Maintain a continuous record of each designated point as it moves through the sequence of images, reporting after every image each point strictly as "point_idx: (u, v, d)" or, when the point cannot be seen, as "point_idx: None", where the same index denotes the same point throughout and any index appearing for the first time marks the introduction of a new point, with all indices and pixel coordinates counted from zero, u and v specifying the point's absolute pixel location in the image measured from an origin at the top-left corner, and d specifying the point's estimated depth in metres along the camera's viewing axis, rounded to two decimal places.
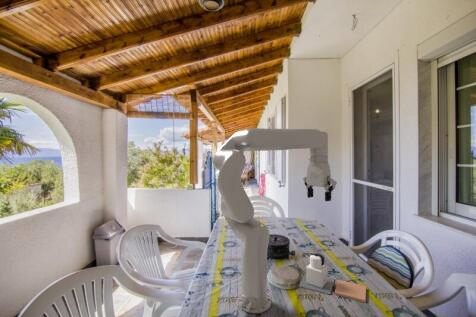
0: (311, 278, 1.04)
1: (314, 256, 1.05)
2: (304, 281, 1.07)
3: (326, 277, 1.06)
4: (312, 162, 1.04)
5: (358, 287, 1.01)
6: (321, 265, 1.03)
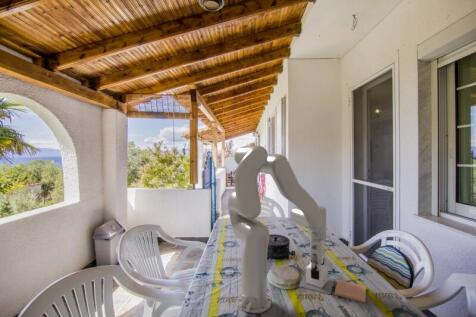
0: (311, 278, 1.04)
1: None
2: (304, 281, 1.07)
3: (326, 277, 1.06)
4: (325, 238, 1.04)
5: (358, 287, 1.01)
6: (321, 265, 1.03)
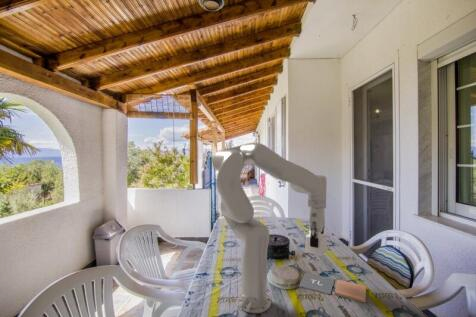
0: (310, 247, 1.04)
1: None
2: (304, 281, 1.07)
3: (325, 246, 1.05)
4: (325, 206, 1.04)
5: (358, 287, 1.01)
6: (320, 234, 1.03)
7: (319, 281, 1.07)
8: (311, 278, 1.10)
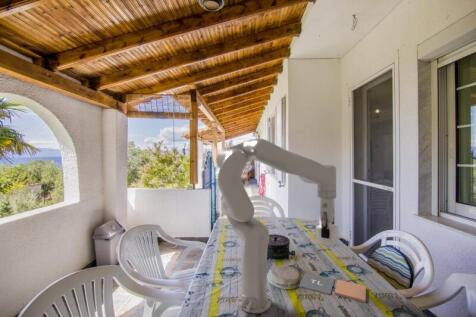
0: (321, 238, 1.02)
1: None
2: (304, 281, 1.07)
3: (336, 237, 1.03)
4: None
5: (358, 287, 1.01)
6: (331, 224, 1.01)
7: (319, 281, 1.07)
8: (311, 278, 1.10)
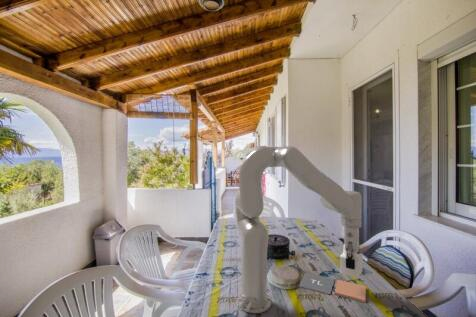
0: (346, 268, 0.97)
1: None
2: (304, 281, 1.07)
3: (361, 267, 0.99)
4: None
5: (358, 287, 1.01)
6: (356, 254, 0.97)
7: (319, 281, 1.07)
8: (311, 278, 1.10)
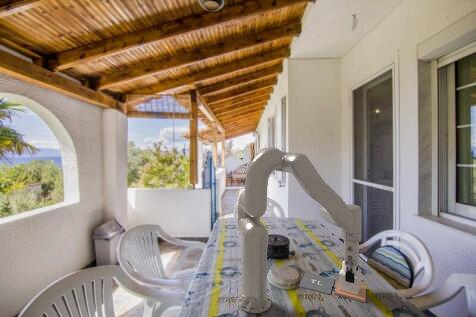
0: (345, 285, 0.98)
1: None
2: (304, 281, 1.07)
3: (360, 283, 0.99)
4: None
5: None
6: (356, 271, 0.97)
7: (319, 281, 1.07)
8: (311, 278, 1.10)
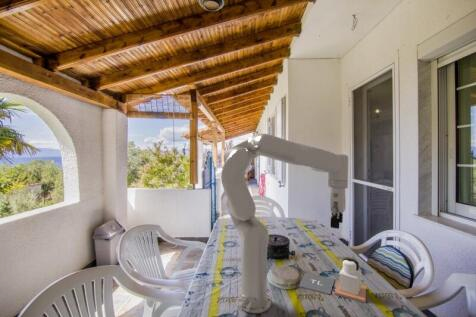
0: (345, 285, 0.98)
1: (348, 261, 0.99)
2: (304, 281, 1.07)
3: (360, 283, 0.99)
4: (347, 187, 0.99)
5: None
6: (356, 271, 0.97)
7: (319, 281, 1.07)
8: (311, 278, 1.10)
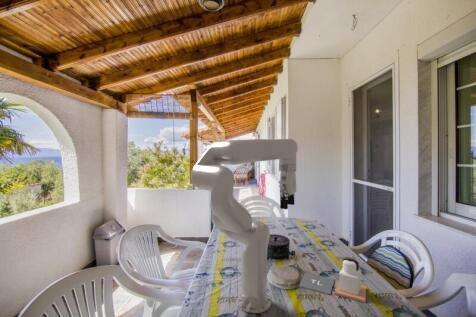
0: (345, 285, 0.98)
1: (348, 261, 0.99)
2: (304, 281, 1.07)
3: (360, 283, 0.99)
4: (295, 170, 1.06)
5: None
6: (356, 271, 0.97)
7: (319, 281, 1.07)
8: (311, 278, 1.10)
